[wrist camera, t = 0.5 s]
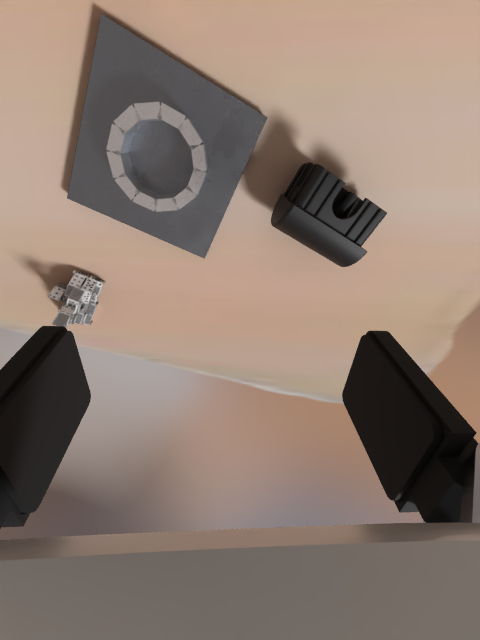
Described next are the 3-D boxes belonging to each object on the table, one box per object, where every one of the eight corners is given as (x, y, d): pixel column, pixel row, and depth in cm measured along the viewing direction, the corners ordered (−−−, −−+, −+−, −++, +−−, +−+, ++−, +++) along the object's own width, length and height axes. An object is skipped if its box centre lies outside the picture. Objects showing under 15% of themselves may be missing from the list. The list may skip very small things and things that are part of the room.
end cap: (265, 216, 35) (274, 232, 29) (300, 158, 32) (318, 162, 26) (329, 255, 38) (349, 275, 32) (366, 205, 35) (395, 218, 29)
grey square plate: (105, 18, 25) (87, -2, 22) (265, 118, 30) (272, 115, 26) (71, 196, 33) (53, 203, 29) (204, 255, 37) (203, 267, 34)
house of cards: (38, 237, 35) (-3, 259, 29) (111, 269, 38) (88, 296, 31) (26, 296, 39) (-13, 328, 32) (92, 322, 42) (69, 355, 35)
